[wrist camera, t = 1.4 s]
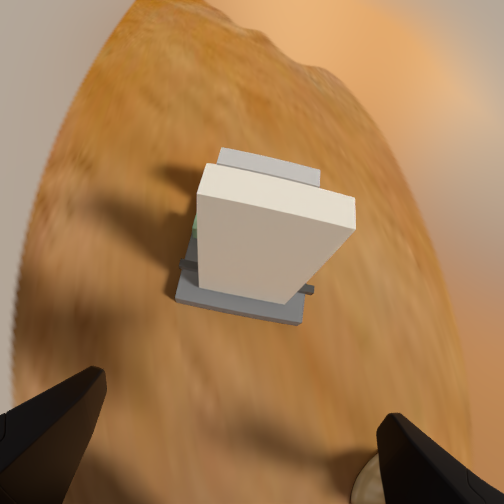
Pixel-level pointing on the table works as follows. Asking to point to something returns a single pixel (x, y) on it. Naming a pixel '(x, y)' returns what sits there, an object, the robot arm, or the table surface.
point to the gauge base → (235, 304)
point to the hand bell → (368, 485)
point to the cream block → (265, 233)
